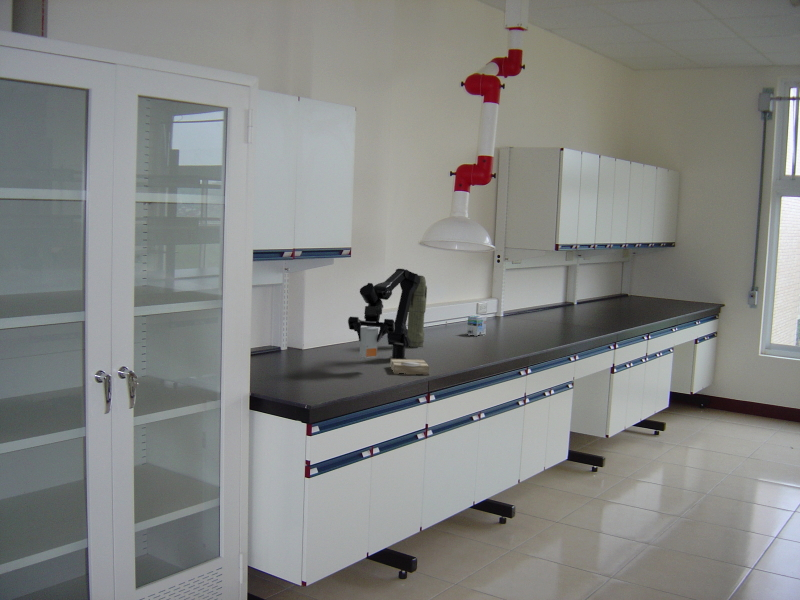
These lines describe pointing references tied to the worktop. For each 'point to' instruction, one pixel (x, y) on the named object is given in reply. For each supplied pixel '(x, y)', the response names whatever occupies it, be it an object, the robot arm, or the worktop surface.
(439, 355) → the worktop surface
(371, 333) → the skincare box
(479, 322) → the light bulb box
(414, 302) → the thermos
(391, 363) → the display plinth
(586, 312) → the worktop surface
